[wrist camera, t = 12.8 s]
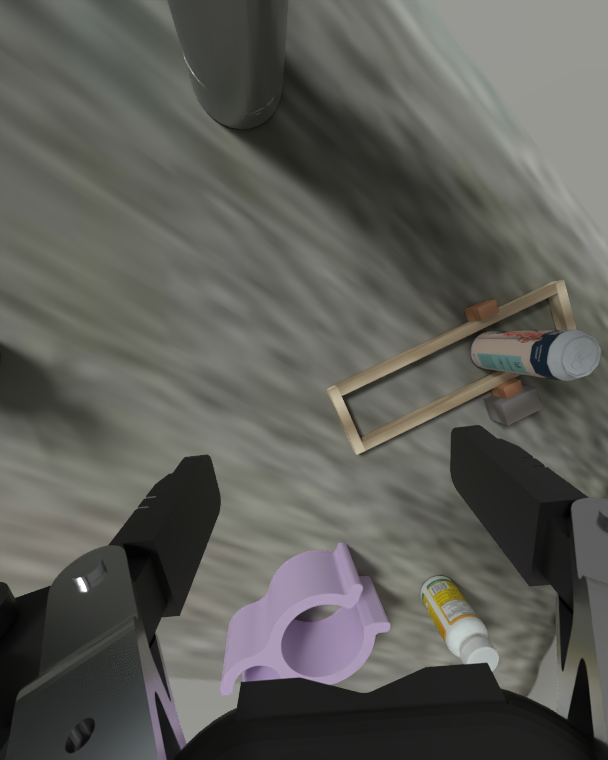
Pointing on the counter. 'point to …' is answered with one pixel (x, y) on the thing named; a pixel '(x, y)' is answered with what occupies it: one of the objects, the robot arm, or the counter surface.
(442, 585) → the supplement bottle
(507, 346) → the beer can
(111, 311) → the counter surface
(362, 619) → the clip
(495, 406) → the beam track
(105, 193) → the counter surface
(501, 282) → the counter surface
